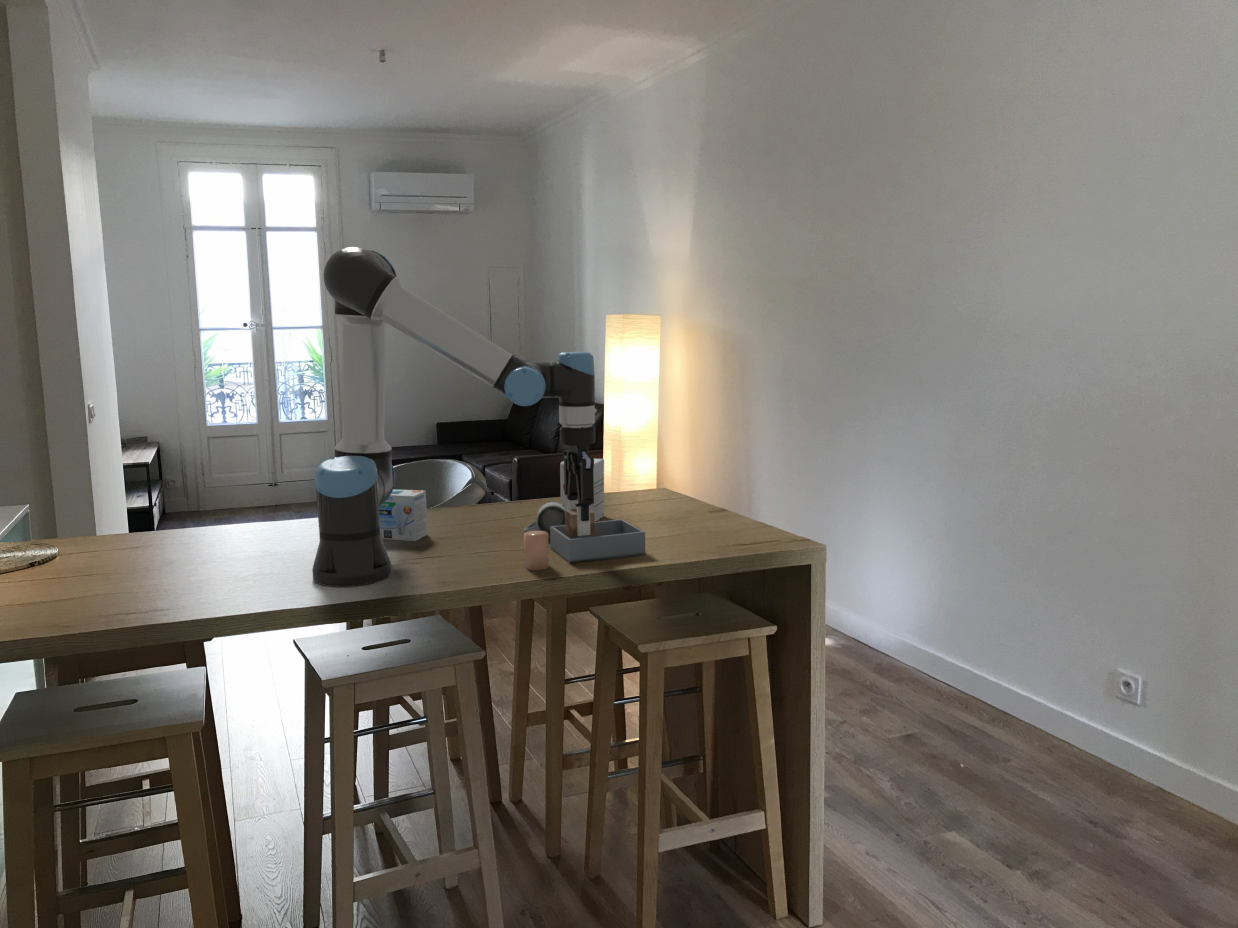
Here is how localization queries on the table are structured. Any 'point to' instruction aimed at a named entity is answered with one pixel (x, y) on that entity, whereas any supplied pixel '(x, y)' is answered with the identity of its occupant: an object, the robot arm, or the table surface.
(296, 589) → the table surface
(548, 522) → the ceramic mug
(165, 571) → the table surface
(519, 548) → the table surface
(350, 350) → the robot arm
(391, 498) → the light bulb box
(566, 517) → the walnut cube
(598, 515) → the supplement box
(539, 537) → the glossy tan capsule
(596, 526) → the tote
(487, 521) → the table surface
